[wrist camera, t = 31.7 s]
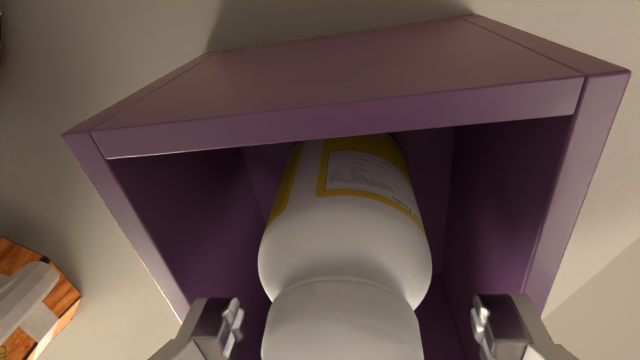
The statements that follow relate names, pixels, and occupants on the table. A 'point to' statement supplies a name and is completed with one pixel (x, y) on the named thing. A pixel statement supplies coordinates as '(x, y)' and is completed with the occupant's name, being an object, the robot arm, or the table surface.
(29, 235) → the table surface
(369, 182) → the pill bottle
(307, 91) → the box
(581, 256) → the table surface
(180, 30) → the table surface
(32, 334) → the wooden beer tankard
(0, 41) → the lucky cat figurine
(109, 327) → the table surface
